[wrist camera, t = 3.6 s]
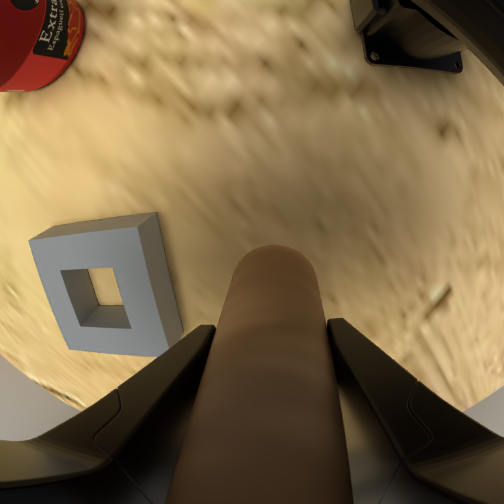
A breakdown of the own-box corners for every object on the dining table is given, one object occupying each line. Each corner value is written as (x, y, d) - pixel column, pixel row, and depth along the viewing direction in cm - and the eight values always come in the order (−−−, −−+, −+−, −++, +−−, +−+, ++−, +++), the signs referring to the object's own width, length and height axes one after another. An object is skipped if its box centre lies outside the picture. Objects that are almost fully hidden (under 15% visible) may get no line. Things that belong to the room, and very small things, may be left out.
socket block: (156, 212, 19) (137, 226, 17) (183, 331, 23) (172, 357, 20) (52, 226, 20) (28, 240, 18) (86, 328, 24) (69, 349, 21)
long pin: (315, 242, 11) (377, 525, 2) (317, 317, 12) (344, 565, 3) (227, 248, 11) (122, 513, 3) (238, 321, 12) (185, 561, 4)
